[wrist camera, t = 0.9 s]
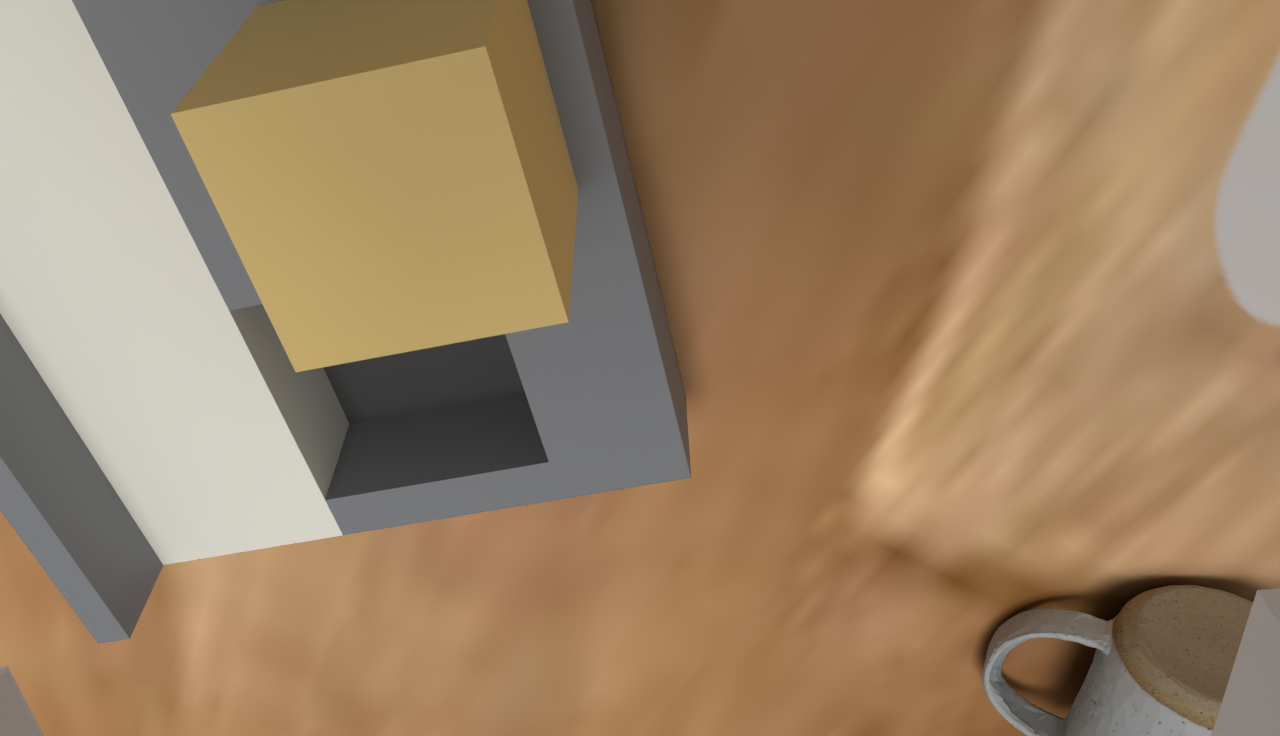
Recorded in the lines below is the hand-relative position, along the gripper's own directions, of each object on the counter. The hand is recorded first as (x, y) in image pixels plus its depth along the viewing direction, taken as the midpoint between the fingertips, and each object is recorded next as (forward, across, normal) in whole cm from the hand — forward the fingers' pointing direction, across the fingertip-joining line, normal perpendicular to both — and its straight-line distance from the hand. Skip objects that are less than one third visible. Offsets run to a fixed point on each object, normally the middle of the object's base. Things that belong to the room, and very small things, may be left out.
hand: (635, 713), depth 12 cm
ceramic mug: (+23, +18, -25) cm, 38 cm away
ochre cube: (+18, -5, +1) cm, 19 cm away
